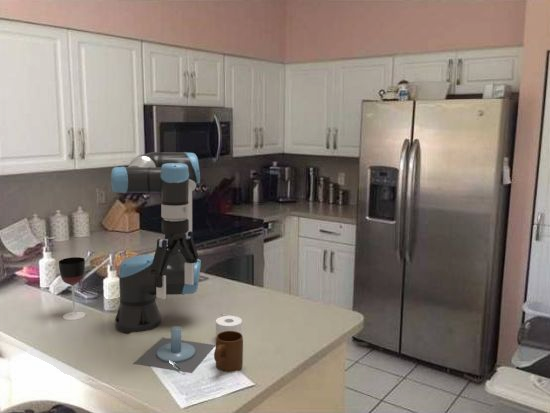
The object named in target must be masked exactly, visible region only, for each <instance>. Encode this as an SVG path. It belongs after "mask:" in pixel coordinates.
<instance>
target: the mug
mask: <svg viewBox="0 0 550 413" xmlns="http://www.w3.org/2000/svg"><path fill="white" fill-rule="evenodd" d="M215 345H216V346H215V349H214V354H213V358H214V361H215V367H216V368H217V370H219V371H220V372H225V373H226V372H227V373H229V372H231V373H232V372H238V371H240V370H241V369H242V368H243V362H244V361H243V360H244V359H243V358H244V357H243V356H244V338H243V333H242V334H241V333H239V332H236V331H224V332H221V333H219V334H218V335H217V337H216V336H215Z"/></svg>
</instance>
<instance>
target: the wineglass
mask: <svg viewBox="0 0 550 413" xmlns="http://www.w3.org/2000/svg"><path fill="white" fill-rule="evenodd" d="M85 260H86V259H85V258H84V257H80V256H78V257H73V256H72V257H66V258H63V259H60V260H59V261H58V268H59V274H60V278H61V281H63V282H64V283H66V284H67V285H71V298H72V312H71V311H70V312H67V313H65V314H63V315H62V318H63V319H64V320H67V321H75V320H79V319H82V318H84V317H86V315H87V314H86V312H83V311H76V298H75V296H76V295H75V294H76V293H75V285H76V284H78V283H79V282H81V280H83V278H84V275H85V267H86V263H85V262H86V261H85Z"/></svg>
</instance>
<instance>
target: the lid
mask: <svg viewBox="0 0 550 413" xmlns="http://www.w3.org/2000/svg"><path fill="white" fill-rule="evenodd" d="M170 339H171V343H169V344H166V345H163V346H161V347H160V348H159V349H158V350H157V357H158V358H159V359H160V360H161V361H164V362H168V363H169V360H171V361H173V362H175V363H178V362H184V361H187V360H189V359H191V358H192V357H193V356H194V355H195V348H194V347H193V346H192V345H190V344H187V343H181V340H182V327H181V326H176V325H175V326H172V327H171V328H170Z"/></svg>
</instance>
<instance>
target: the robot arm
mask: <svg viewBox="0 0 550 413" xmlns="http://www.w3.org/2000/svg"><path fill="white" fill-rule="evenodd" d="M200 173H201V172H200V165H199V158H198V156H197V155H196V153H194V152H186V151H183V152H173V151H172V152H171V151H167V152H165V151H162V152H161V151H153V152H148V153H143V154H140V155H138V156H136V157H134V158H133V159H132V160H130V162H129V164H128V166H119V167H117V166H115V167H113V168H112V169H111V174H110V184H111V190H112V191H113V192H114V193H120V194H121V193H123V194H128V193H132V194H134V193H136V194H137V193H143V194H144V193H147V194H148V193H149V194H151V193H153V194H159V193H160V195H161V206H160V207H161V214H160V217H161V218H162V219H161V232H162V233H163V234H164V239H161V238H160V239H159V238H158V239H157V241H156V249H155V252H154V254H153V255H152V254H140V255H139V254H138V255H135V256H134V255H133V256H131V257H127V258H126V259H124V260H122V261H121V262H120V263H119V268H118V270H119V271H118V279H119V281H118V282H119V307H118V309H117V312H116V316H115V319H114V328H115V329H116V330H117V331H119V332H121V333H125V334H131V333H142V332H147V331H151V330H154V329H156V328H157V327H159V326H160V325H161V324H162V315H161V312H160V309H159V306H158V304H157V299H158V298H159V299H162V300H166V299H167V296H170V295H171V296H173V295H175V296H176V295H182V296H184V295H192V294H195V293H197V291H198V287H199V282H200V273H201V266H202V261H201V259H199V253H198V250H197V247H196V245H195V244H196V243H195V241H194V236H193V191H195V190H196V188H197V185H198V184H200V183H201V174H200Z"/></svg>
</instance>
